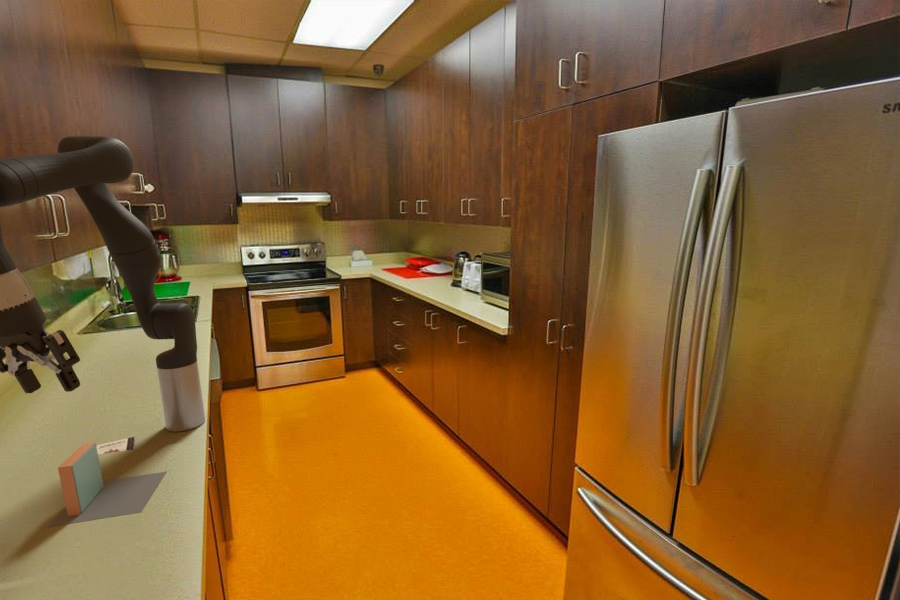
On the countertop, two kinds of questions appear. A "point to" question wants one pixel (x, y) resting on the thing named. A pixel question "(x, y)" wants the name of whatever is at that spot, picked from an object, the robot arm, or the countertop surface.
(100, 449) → the chocolate bar
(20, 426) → the countertop surface
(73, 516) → the mat
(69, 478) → the tile
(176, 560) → the countertop surface
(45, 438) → the countertop surface
